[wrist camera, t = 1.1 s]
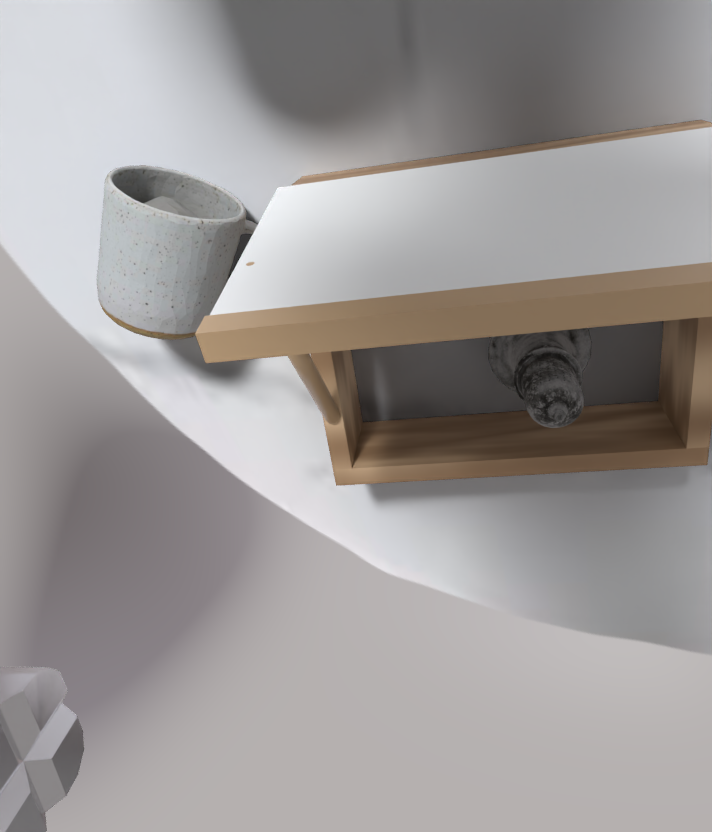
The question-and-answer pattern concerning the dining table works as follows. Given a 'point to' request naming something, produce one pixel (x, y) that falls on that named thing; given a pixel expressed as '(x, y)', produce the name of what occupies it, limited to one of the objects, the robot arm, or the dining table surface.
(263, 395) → the dining table surface
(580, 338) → the dark grey turned piece
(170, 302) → the ceramic mug
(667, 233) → the propped lid
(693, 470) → the dining table surface
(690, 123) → the cold frame
